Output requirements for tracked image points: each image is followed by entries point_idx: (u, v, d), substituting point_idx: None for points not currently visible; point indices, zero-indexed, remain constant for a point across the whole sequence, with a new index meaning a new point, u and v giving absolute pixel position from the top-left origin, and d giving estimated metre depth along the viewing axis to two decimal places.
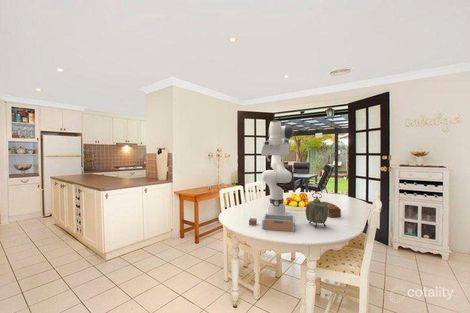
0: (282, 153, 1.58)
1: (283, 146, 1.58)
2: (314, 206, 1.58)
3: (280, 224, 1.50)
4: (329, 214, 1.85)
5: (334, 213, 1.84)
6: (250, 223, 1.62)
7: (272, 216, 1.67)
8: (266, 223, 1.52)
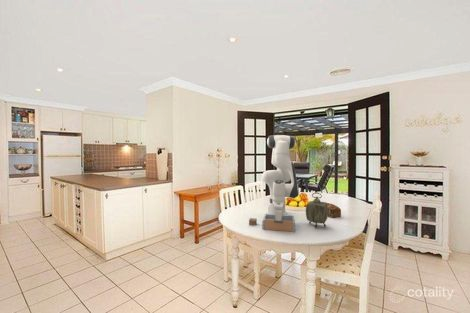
0: None
1: None
2: (314, 206, 1.58)
3: (280, 224, 1.50)
4: (330, 214, 1.84)
5: (335, 213, 1.84)
6: (250, 223, 1.62)
7: (272, 216, 1.67)
8: (266, 223, 1.52)
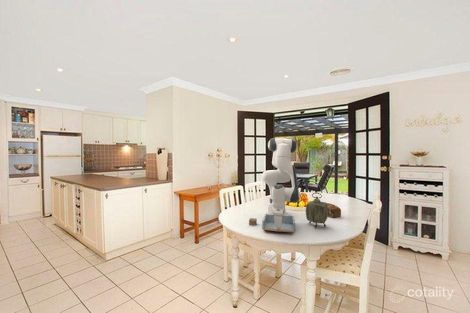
0: None
1: None
2: (314, 206, 1.58)
3: None
4: (331, 214, 1.84)
5: (336, 213, 1.83)
6: (250, 223, 1.62)
7: (272, 216, 1.67)
8: None
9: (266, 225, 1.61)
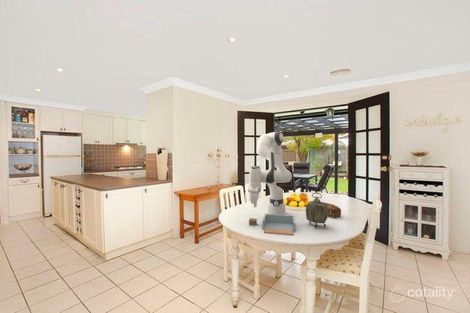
0: (258, 197, 1.67)
1: None
2: (314, 206, 1.58)
3: None
4: (331, 215, 1.83)
5: (336, 213, 1.83)
6: (250, 223, 1.62)
7: (272, 216, 1.67)
8: None
9: (266, 225, 1.61)
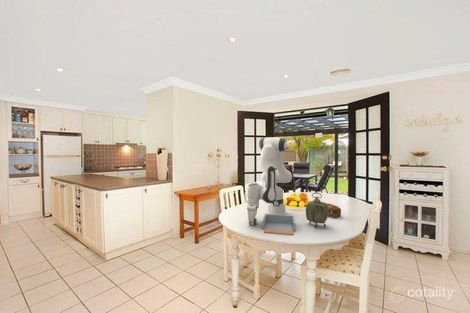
0: (256, 213, 1.68)
1: None
2: (314, 206, 1.58)
3: None
4: (332, 215, 1.83)
5: (337, 213, 1.83)
6: (250, 223, 1.62)
7: (272, 216, 1.67)
8: None
9: (266, 225, 1.61)
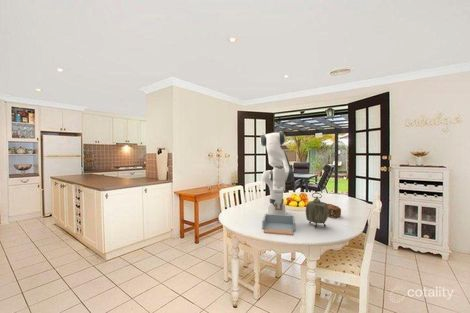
0: None
1: None
2: (314, 206, 1.58)
3: None
4: (333, 215, 1.82)
5: (337, 213, 1.83)
6: (276, 206, 1.57)
7: (272, 216, 1.67)
8: None
9: (266, 225, 1.61)
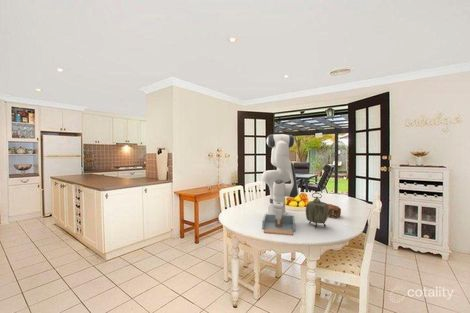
0: None
1: None
2: (314, 206, 1.58)
3: None
4: (334, 215, 1.82)
5: (338, 213, 1.83)
6: (276, 223, 1.58)
7: (272, 216, 1.67)
8: None
9: (266, 225, 1.61)
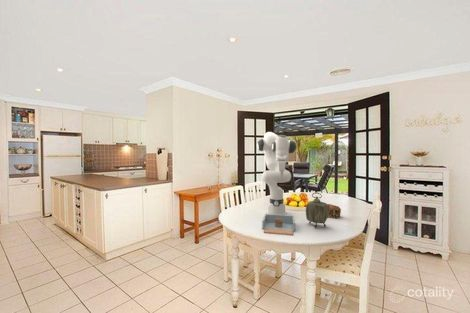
0: None
1: None
2: (314, 206, 1.58)
3: None
4: (335, 215, 1.81)
5: (339, 213, 1.83)
6: (276, 223, 1.58)
7: (272, 216, 1.67)
8: None
9: (266, 225, 1.61)
